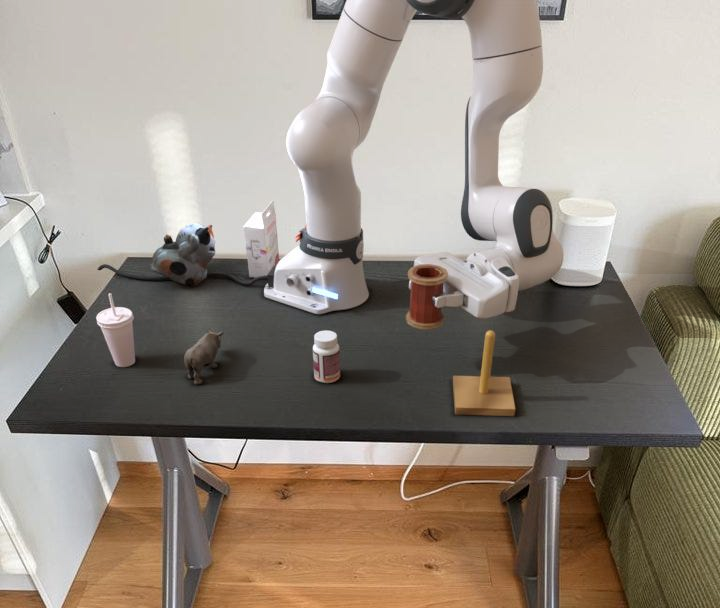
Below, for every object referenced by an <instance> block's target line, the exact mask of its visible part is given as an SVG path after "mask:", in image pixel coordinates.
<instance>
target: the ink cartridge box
mask: <svg viewBox="0 0 720 608" xmlns="http://www.w3.org/2000/svg"><path fill="white" fill-rule="evenodd" d="M242 227H243V235H244V242H245V251H246V259H247V267H248V277H249V278H252V279H254V278H256V277H259V276H264V275H267V274H268V273H269V272H270V270H271V269H272V268H273V267H274V266H277V264H278V262H279V261H280V255H279V254H280V253H279V251H280V250H279V240H278V228H277V227H278V226H277V214H276V209H275V202H274V200H271V202H270V203H269V204H268V205H267V206H266V208H265V209H264V210H263V211H262V212H258V211H257V212H254V214H253V215H251V217H250V218H249V219H248V221H247V222H245V224H244V225H243V226H242Z"/></svg>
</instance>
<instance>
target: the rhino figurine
mask: <svg viewBox="0 0 720 608" xmlns="http://www.w3.org/2000/svg"><path fill="white" fill-rule="evenodd" d="M223 335H224V330H221V331H219V332H218V333H216V332H213V331H212V329H211V328H210V327H208V328H207V333H205V334H204V335H203V336H202V337H200V338H199V339H198V341H197V342H196V343H195V344H194V345H193V346H191V347H190V348H188V349H187V350H186V351H185V353H184V355H183V363H184V365H185V367H186V369H187V373H188V374H187V378H188V379H190V380H193V379H194V381H193V384H194V385H201V384H203V379H202V378H200V375H201V373H202V371H203V369H204V366H205V365H208V366H209V368H214V369H216V368H217V367H218V363H216V362H215V359H216V357H217V354H218V352H219V351H218V350H219V349H220V348H221V346H222V345H221V344H222V343H221V339H222V336H223Z"/></svg>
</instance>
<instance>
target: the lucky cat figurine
mask: <svg viewBox="0 0 720 608" xmlns="http://www.w3.org/2000/svg"><path fill="white" fill-rule="evenodd" d="M163 242H164V244H162V245H161V247H158V248H157V249H155V251H154V252H153V254H152V258H151V263H150V264H149V265H148V266H147V267H148V269H149V270H151V271H153V272H155V273H157V274H159V275H162V276H166V277H168V278H170V280H172V281H174V282H176V283H179V284H183V285H188V284H190V285H191V287H195V286H197V285H198V284H200V283H201V282H202V281H204V280H205V279H206V278H207V277H208V276H207V272H208V265H209V263H210V262H211V261H212V259H213V257H214V256H215V255H216V248H215V247H216V243H217V241H216V240H215V234H214V231H213V225H212V224H208V226H205V225H203V224H200V223H188V224H187V225H185V226H183V227H181V228H180V230H179V231H178V232H177V235H176V238H175V241H174V240H173V238H172V236H171V235H169V234H166V235H165V236H164V237H163Z"/></svg>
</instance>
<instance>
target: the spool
mask: <svg viewBox="0 0 720 608" xmlns="http://www.w3.org/2000/svg"><path fill="white" fill-rule="evenodd" d="M407 276H408V279H409V281H410V280H411V290H410V294H409V295H410V298H409V310H408V311H407V313H406V314H405V320H406V323H407V325H409V326H411V327H412V328H414V329H418V330H419V329H420V330H435V329H437V328H440V327H441V326H442V325H443V324H444V322H445V315H444V313H443V311H442V310H443V309H442V308H443V307H440V308H437V307H435V306H434V305H433V304H432V297H433V296H434V295H437V294H439V293H441V294H443V285H444V282H445V281H446V280H447V278H448V272H447V270H446V269H444V268H443V267H441V266H438V265H432V264H420V265H416V266H414V265H413V266H412V267H410V269H408V271H407Z"/></svg>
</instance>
